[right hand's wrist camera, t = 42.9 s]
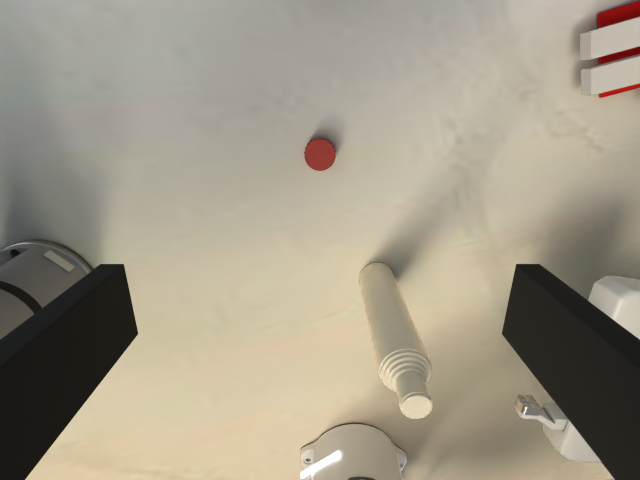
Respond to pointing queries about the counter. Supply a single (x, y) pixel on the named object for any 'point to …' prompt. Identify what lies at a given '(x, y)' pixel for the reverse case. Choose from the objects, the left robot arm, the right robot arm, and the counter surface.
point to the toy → (612, 52)
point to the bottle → (396, 341)
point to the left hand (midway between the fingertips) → (529, 369)
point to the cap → (320, 154)
